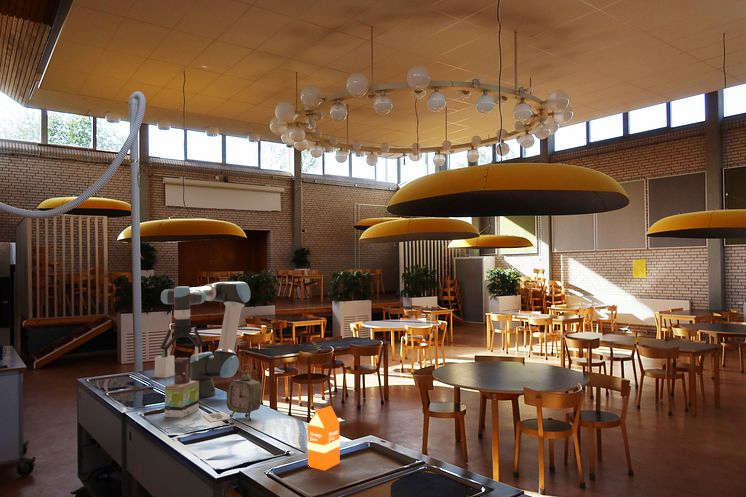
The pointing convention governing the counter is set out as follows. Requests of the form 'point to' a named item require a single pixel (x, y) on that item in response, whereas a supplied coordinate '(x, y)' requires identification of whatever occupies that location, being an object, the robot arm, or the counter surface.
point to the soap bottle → (164, 366)
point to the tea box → (181, 399)
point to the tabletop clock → (244, 394)
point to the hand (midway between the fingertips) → (182, 361)
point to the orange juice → (323, 439)
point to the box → (182, 370)
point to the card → (217, 417)
